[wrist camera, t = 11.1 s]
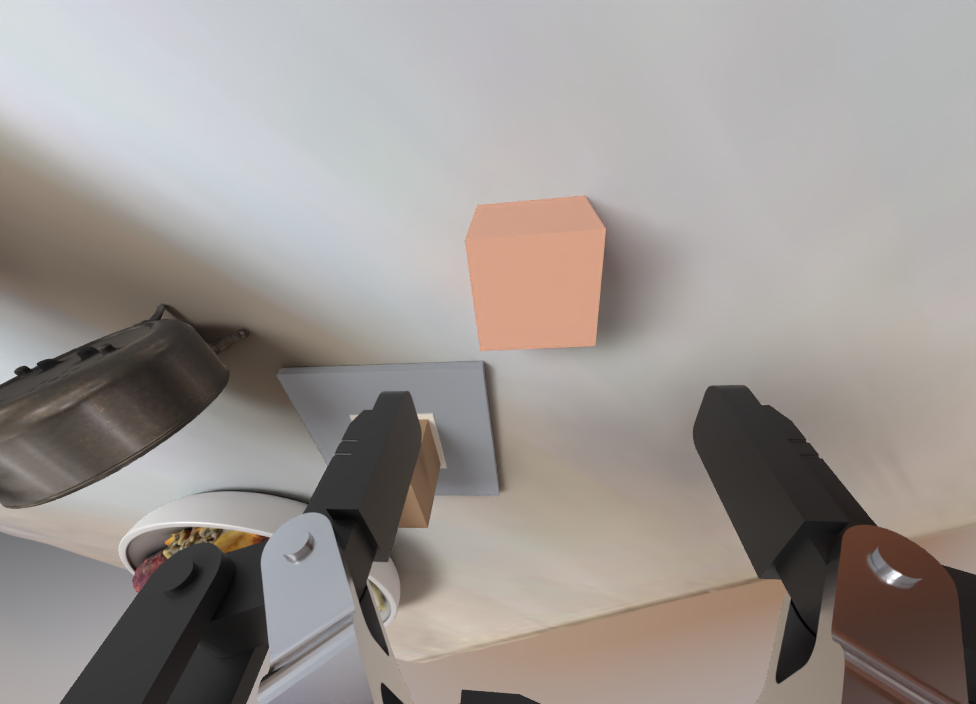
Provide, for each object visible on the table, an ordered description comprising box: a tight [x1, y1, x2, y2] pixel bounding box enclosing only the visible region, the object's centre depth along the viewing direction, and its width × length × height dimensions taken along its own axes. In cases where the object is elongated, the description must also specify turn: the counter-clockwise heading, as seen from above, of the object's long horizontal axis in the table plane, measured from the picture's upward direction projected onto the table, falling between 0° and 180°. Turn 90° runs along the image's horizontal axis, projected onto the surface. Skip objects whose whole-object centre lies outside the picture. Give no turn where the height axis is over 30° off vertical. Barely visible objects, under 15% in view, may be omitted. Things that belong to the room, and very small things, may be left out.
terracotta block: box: [465, 196, 606, 351], centre depth 18 cm, size 6×6×6 cm
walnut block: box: [398, 419, 441, 528], centre depth 27 cm, size 6×6×6 cm
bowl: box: [119, 491, 400, 627], centre depth 41 cm, size 30×30×8 cm
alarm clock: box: [0, 304, 249, 509], centre depth 18 cm, size 11×5×16 cm, turn 107°
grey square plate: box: [276, 361, 500, 496], centre depth 30 cm, size 15×15×1 cm
